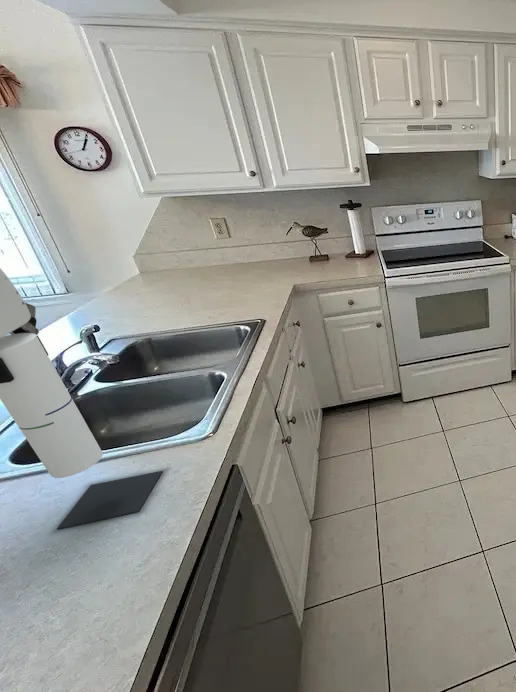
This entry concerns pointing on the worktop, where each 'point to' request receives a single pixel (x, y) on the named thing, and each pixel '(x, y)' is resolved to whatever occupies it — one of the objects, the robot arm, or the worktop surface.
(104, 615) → the worktop surface
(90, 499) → the mat
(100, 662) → the worktop surface
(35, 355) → the cylindrical container
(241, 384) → the worktop surface
